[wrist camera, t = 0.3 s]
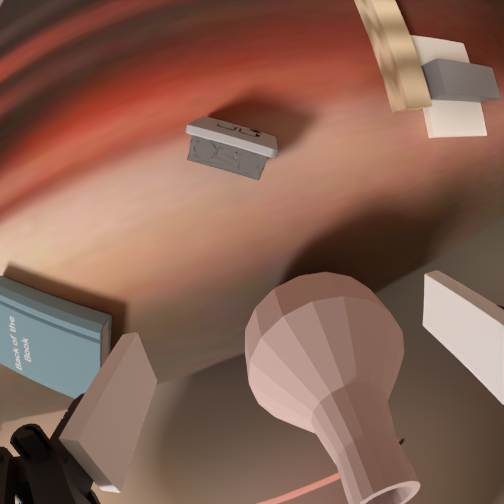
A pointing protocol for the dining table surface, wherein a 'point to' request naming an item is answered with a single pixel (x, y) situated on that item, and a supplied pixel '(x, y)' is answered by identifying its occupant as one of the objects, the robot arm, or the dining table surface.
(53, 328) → the book
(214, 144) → the electrical switch
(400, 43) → the beam
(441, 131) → the fulcrum
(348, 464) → the vase
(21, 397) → the dining table surface
